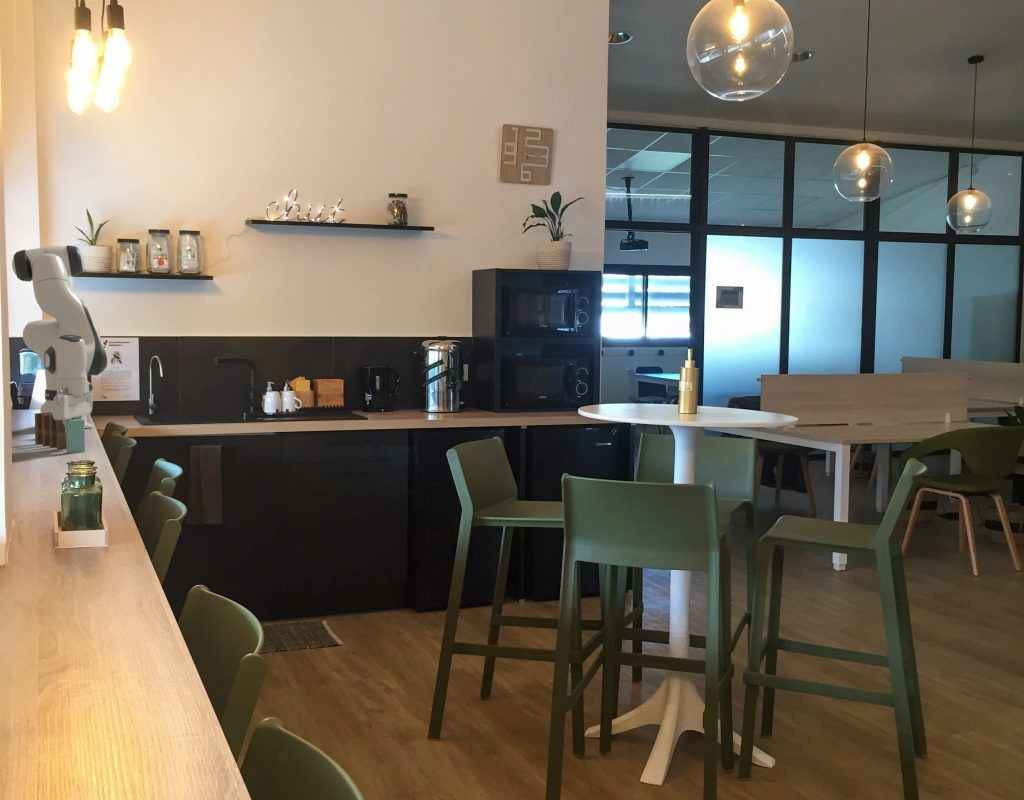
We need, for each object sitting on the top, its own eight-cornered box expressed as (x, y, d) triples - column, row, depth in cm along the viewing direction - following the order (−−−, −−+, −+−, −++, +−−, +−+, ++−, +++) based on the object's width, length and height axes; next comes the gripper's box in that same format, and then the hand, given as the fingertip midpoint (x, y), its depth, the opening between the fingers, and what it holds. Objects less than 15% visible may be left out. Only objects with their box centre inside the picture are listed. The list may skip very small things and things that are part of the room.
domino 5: (66, 452, 313) (65, 420, 312) (82, 451, 317) (82, 419, 316) (68, 453, 312) (67, 420, 311) (84, 451, 316) (84, 419, 315)
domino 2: (42, 445, 326) (41, 414, 325) (57, 444, 330) (56, 413, 329) (45, 446, 325) (44, 415, 324) (60, 444, 329) (59, 413, 328)
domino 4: (57, 448, 321) (56, 417, 320) (72, 447, 324) (71, 415, 323) (59, 449, 320) (58, 417, 319) (74, 447, 323) (74, 416, 322)
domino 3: (49, 447, 323) (48, 415, 322) (64, 445, 327) (64, 414, 326) (52, 447, 322) (51, 416, 321) (67, 446, 326) (66, 415, 325)
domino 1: (35, 444, 329) (34, 413, 328) (50, 442, 333) (49, 412, 332) (37, 444, 328) (37, 413, 327) (52, 443, 332) (52, 412, 331)
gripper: (67, 390, 307) (68, 436, 308) (96, 385, 327) (96, 427, 328) (46, 390, 307) (47, 435, 308) (76, 384, 327) (77, 427, 328)
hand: (73, 431), depth 318 cm, fingers open, 4 cm apart
